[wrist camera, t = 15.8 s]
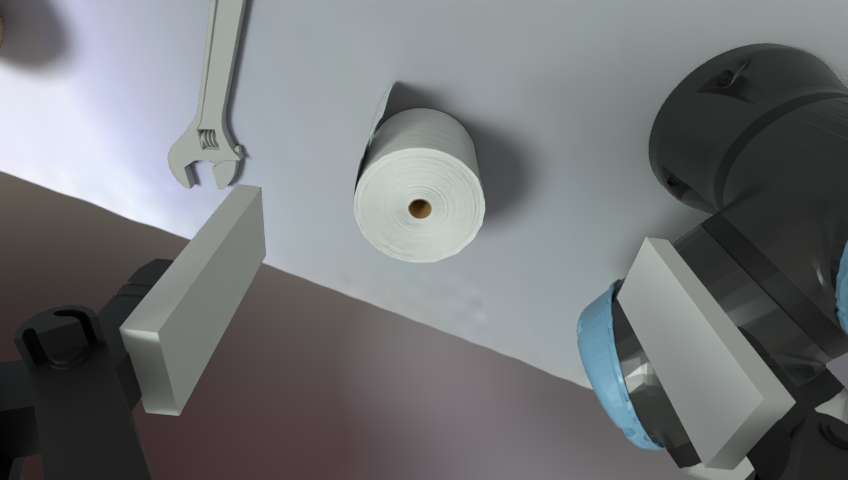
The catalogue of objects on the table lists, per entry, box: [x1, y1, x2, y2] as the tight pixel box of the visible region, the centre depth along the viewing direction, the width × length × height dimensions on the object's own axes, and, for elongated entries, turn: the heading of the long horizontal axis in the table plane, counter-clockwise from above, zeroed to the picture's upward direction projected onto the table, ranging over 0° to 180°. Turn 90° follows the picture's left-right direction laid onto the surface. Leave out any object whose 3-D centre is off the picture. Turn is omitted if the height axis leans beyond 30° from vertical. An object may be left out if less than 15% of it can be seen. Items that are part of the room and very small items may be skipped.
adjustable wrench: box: [168, 0, 247, 189], centre depth 40 cm, size 25×6×2 cm, turn 153°
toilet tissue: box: [354, 82, 485, 263], centre depth 40 cm, size 11×12×10 cm
